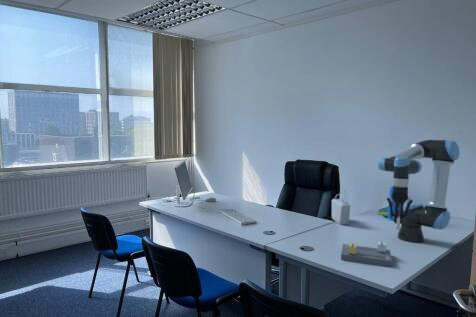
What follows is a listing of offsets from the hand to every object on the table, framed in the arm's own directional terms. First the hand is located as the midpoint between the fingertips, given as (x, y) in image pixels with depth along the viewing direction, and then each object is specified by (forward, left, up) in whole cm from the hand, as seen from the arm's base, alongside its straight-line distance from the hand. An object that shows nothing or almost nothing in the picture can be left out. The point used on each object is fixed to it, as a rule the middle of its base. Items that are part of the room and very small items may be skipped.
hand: (397, 229), depth 189 cm
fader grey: (+7, 0, -13) cm, 15 cm away
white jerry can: (+33, -67, -17) cm, 76 cm away
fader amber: (+22, +10, -13) cm, 28 cm away
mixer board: (+15, +5, -16) cm, 23 cm away
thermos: (-7, -92, -17) cm, 94 cm away
